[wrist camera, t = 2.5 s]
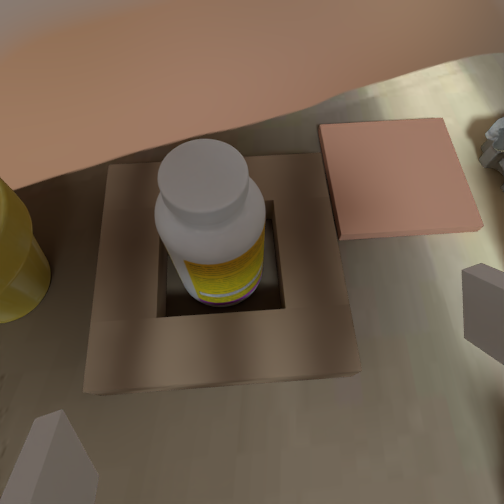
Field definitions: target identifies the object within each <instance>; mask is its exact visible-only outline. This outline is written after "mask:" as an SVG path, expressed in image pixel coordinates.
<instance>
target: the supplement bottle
mask: <svg viewBox="0 0 504 504" xmlns="http://www.w3.org/2000/svg"><path fill="white" fill-rule="evenodd" d="M158 186H159V189H160V193H159V195H158V198H157V201H156V205H155V224H156V228H157V231H158V233H159V235H160V238H161V240H162V242H163V244H164V246H165V247H166V250H167V252H168V254H169V256H170V258H171V260H172V262H173V264H174V266H175V268H176V270H177V273H178V275H179V277H180V279H181V281H182V283H183V285H184V286H185V288H186V290H187V291H188V292H189V294H190V295H191V296H192V297H193V298H195V299H196V300H198V301H199V302H201V303H203V304H206V305H209V306H213V307H228V306H232V305H235V304H238V303H240V302H242V301H244V300H245V299H247V298H248V297H249V296H250V295H251V294H252V293H253V292H254V291H255V289H256V288H257V286H258V284H259V282H260V280H261V277H262V272H263V255H264V235H265V218H266V211H265V202H264V199H263V196H262V193H261V191H260V189H259V188H258V186H257V185H256V183H255V182H254V181H253V180H252V179H251V178H250V177H249V173H248V167H247V163H246V161H245V159H244V158H243V156H242V155H241V154H240V152H239V151H238V150H236V149H235V148H234V147H233V146H231V145H229V144H227V143H225V142H222V141H218V140H213V139H196V140H192V141H188V142H185V143H183V144H181V145H179V146H177V147H176V148H174V149H173V150H172V151H171V152H169V153H168V154H167V155H166V157H165V158H164V159H163V161H162V163H161V165H160V167H159V171H158Z"/></svg>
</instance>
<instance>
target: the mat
mask: <svg viewBox="0 0 504 504" xmlns="http://www.w3.org/2000/svg"><path fill="white" fill-rule="evenodd" d="M318 133H319V139H320V144H321V149H322V154H323V160H324V165H325V170H326V175H327V180H328V186H329V191H330V196H331V201H332V207H333V212H334V217H335V222H336V227H337V233H338V238H339V240H352V239H367V238H383V237H398V236H413V235H429V234H444V233H460V232H475V231H478V230H480V229H481V228H482V227H483V226H484V224H483V222H482V219H481V217H480V214H479V211H478V209H477V206H476V204H475V201H474V198H473V196H472V193H471V191H470V188H469V185H468V183H467V180H466V178H465V175H464V172H463V170H462V167H461V165H460V162H459V159H458V157H457V154H456V152H455V149H454V146H453V144H452V141H451V138H450V136H449V133H448V131H447V128H446V125H445V123H444V120H443V118H429V119H411V120H393V121H375V122H357V123H339V124H321V125H320V126H319V131H318Z"/></svg>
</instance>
